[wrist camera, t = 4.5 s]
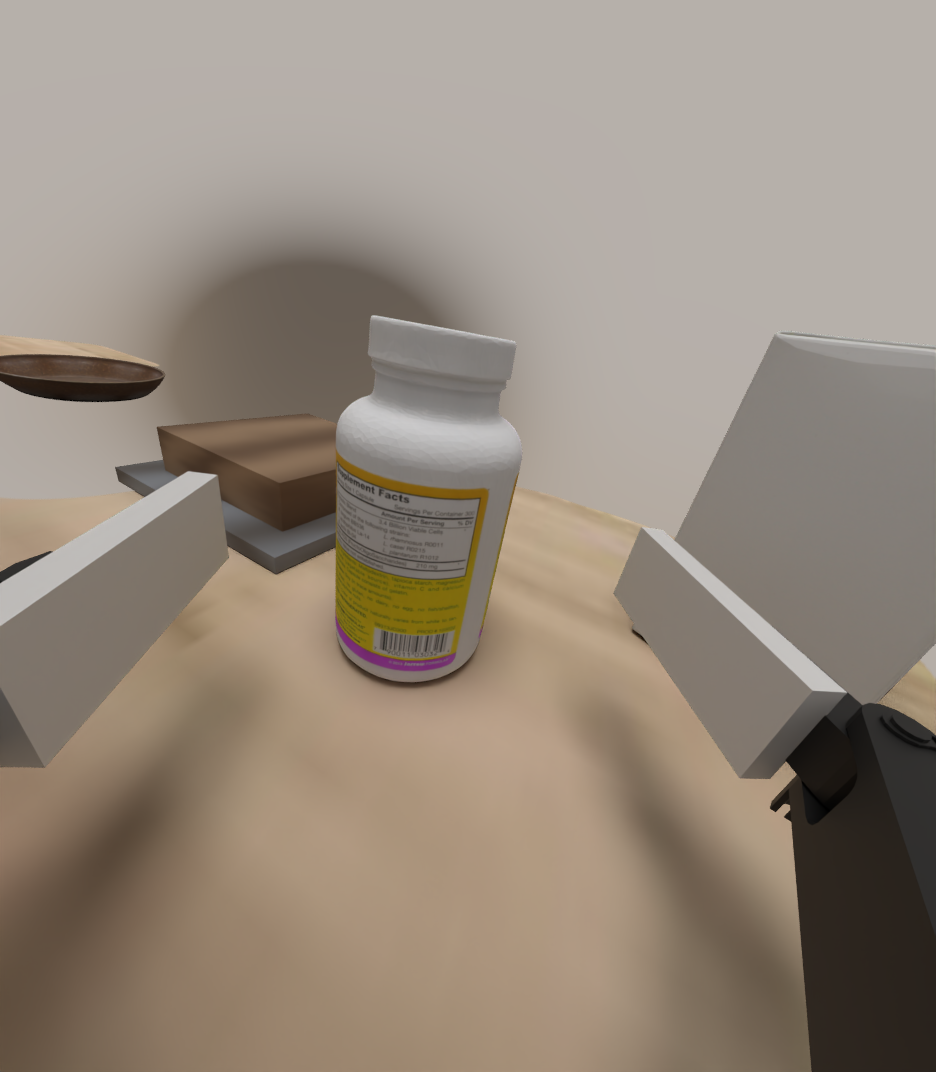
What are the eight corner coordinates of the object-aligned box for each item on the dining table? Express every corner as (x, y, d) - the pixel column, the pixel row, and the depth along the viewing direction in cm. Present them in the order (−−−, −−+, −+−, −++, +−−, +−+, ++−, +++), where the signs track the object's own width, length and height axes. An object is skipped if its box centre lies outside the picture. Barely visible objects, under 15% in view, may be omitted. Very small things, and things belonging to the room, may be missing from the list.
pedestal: (118, 481, 26) (103, 422, 25) (310, 447, 39) (309, 407, 37) (275, 574, 20) (270, 505, 19) (441, 498, 33) (447, 453, 32)
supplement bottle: (413, 576, 22) (444, 328, 17) (504, 639, 19) (584, 355, 13) (303, 625, 18) (292, 298, 12) (400, 722, 14) (453, 329, 8)
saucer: (104, 415, 38) (97, 386, 37) (-61, 388, 37) (-74, 358, 36) (195, 394, 51) (192, 372, 50) (76, 374, 50) (69, 351, 49)
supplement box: (816, 776, 15) (1222, 362, 8) (626, 630, 21) (767, 325, 15) (872, 693, 20) (1153, 393, 13) (705, 594, 26) (837, 356, 20)
